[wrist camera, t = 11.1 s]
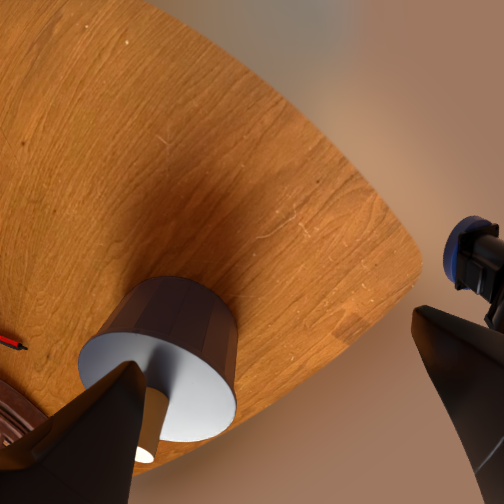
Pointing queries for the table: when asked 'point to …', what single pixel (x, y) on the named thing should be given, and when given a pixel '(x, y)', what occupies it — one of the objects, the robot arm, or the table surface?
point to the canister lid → (164, 385)
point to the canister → (181, 317)
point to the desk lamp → (16, 415)
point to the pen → (12, 343)
